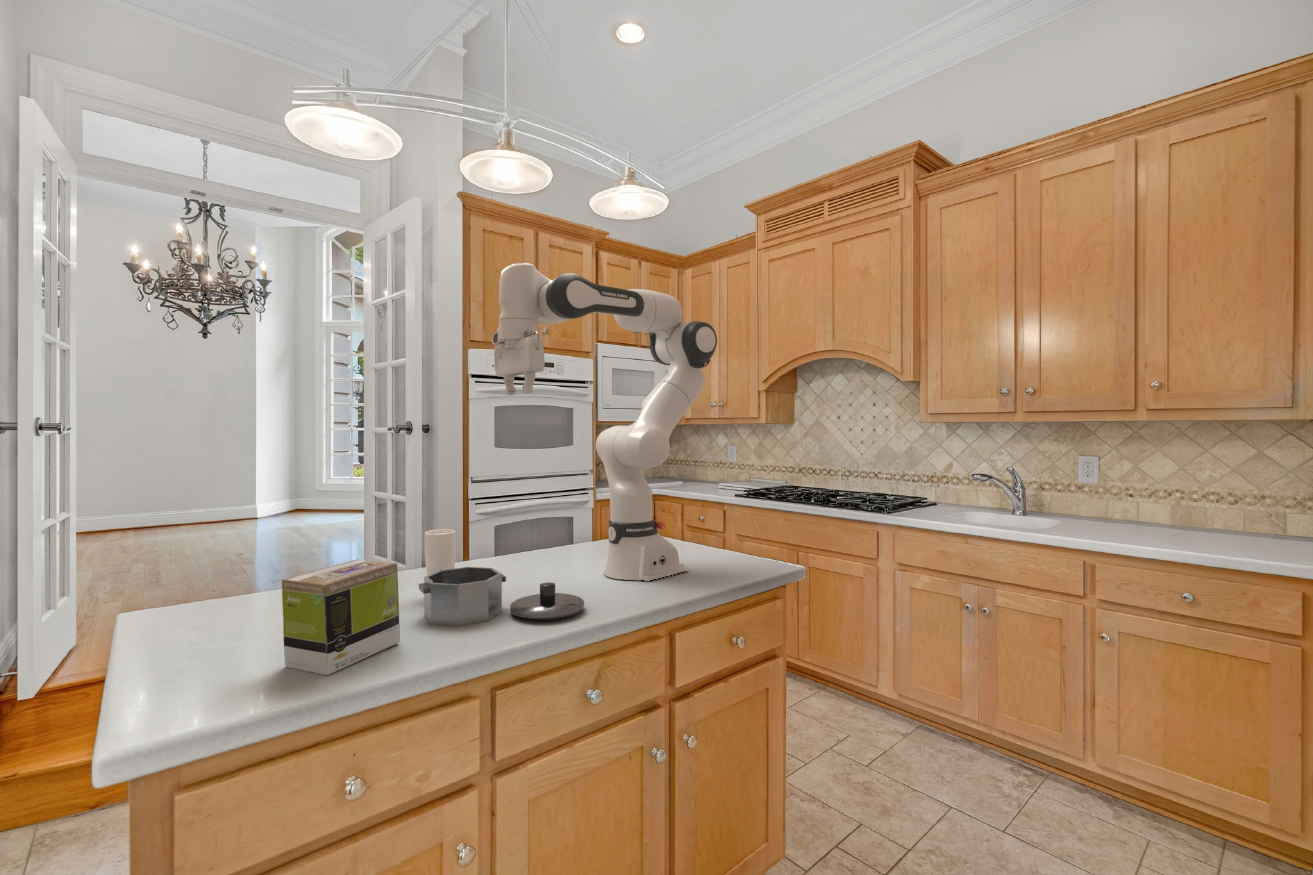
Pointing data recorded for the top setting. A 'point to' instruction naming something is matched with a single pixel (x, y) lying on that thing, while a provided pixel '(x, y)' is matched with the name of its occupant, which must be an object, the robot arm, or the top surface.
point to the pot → (462, 595)
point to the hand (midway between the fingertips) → (519, 394)
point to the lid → (547, 604)
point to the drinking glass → (439, 550)
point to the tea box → (340, 615)
